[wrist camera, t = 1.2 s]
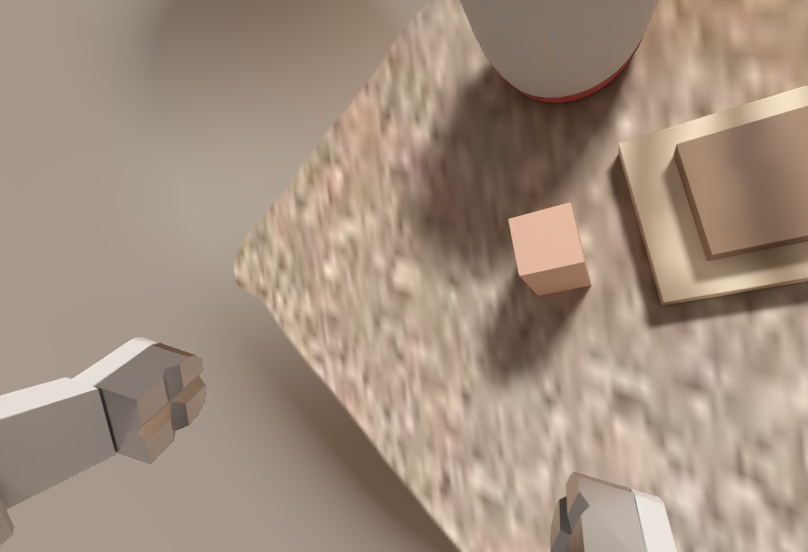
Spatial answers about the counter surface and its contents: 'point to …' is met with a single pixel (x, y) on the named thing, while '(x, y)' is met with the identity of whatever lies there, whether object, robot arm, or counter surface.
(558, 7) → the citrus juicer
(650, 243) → the stepped pedestal
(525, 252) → the pillar block
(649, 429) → the counter surface
